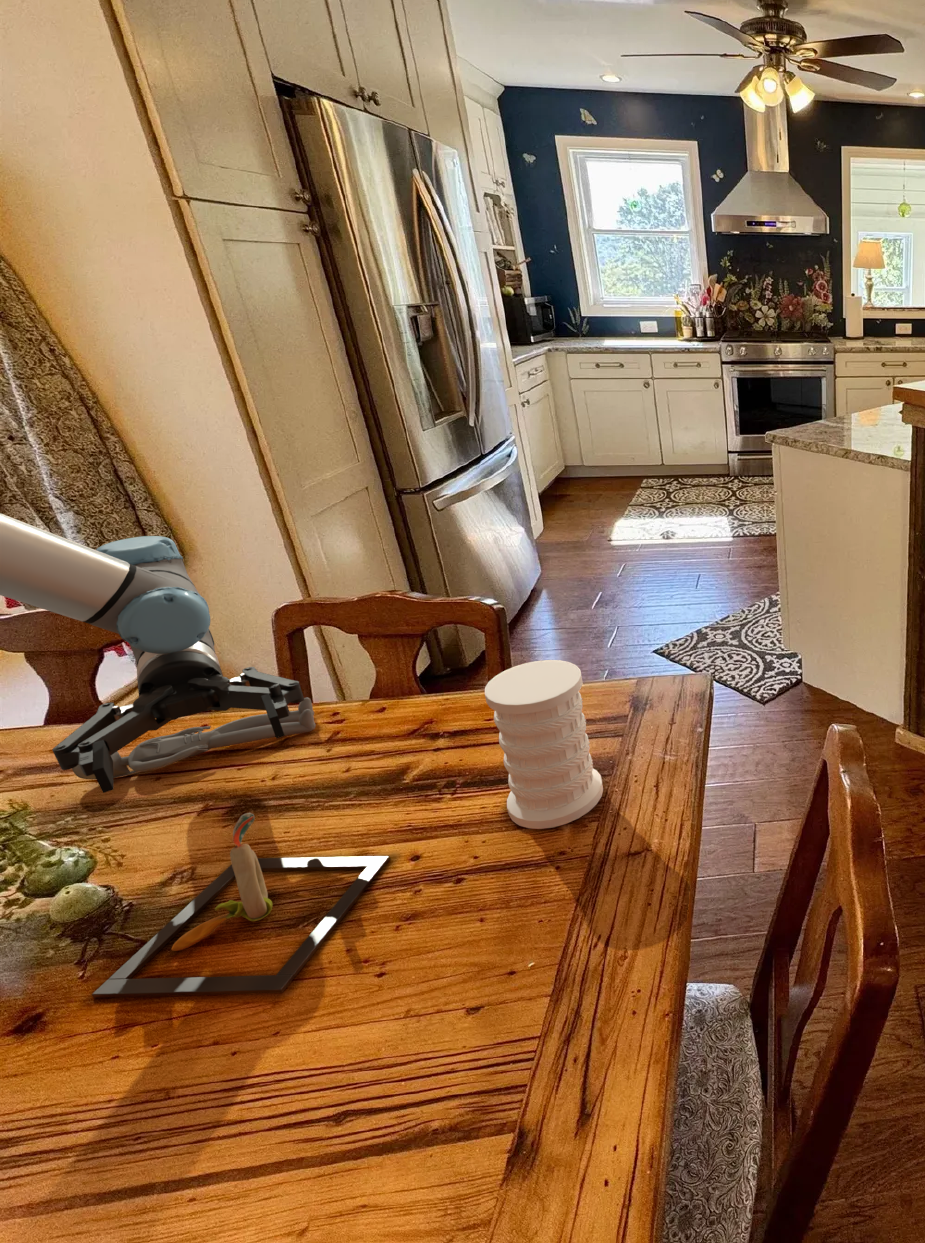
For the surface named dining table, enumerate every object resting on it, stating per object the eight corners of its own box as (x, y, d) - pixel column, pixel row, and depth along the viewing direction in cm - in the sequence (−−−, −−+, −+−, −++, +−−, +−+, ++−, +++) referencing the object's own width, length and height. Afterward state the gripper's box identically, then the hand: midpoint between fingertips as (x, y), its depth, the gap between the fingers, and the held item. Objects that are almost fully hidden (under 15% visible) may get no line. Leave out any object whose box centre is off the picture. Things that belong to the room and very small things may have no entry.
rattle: (198, 904, 77) (160, 821, 73) (292, 881, 80) (260, 799, 76) (170, 959, 71) (125, 872, 66) (272, 931, 74) (236, 846, 70)
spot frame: (93, 998, 67) (91, 994, 67) (239, 861, 83) (237, 858, 82) (282, 993, 68) (280, 989, 68) (390, 858, 84) (389, 855, 83)
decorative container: (488, 811, 91) (458, 691, 85) (561, 761, 101) (540, 650, 94) (551, 840, 87) (526, 716, 80) (622, 786, 97) (604, 671, 90)
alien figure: (310, 711, 104) (60, 771, 89) (318, 739, 106) (74, 802, 91) (308, 688, 110) (72, 741, 95) (315, 715, 112) (85, 771, 97)
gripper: (312, 671, 98) (346, 735, 85) (44, 743, 82) (33, 838, 68) (297, 622, 96) (330, 681, 82) (16, 687, 79) (-1, 774, 65)
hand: (195, 752), depth 75 cm, fingers open, 13 cm apart
